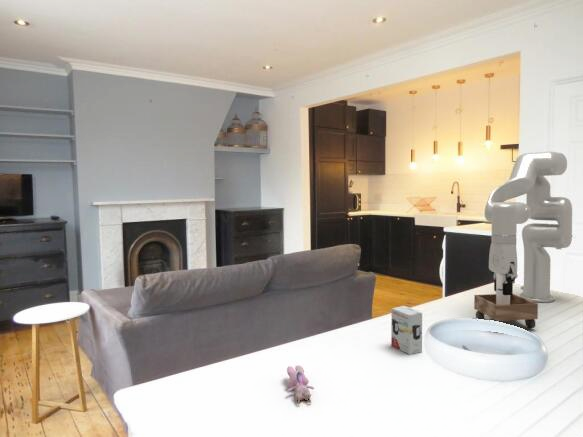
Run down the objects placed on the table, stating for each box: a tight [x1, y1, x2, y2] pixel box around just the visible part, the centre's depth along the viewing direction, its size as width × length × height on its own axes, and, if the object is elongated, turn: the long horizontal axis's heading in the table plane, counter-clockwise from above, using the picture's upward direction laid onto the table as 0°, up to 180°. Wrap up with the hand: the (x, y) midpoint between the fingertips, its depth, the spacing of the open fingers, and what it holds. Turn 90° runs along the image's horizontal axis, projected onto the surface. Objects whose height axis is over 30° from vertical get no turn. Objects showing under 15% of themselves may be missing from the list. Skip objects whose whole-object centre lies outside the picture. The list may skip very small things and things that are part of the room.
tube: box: [495, 272, 510, 305], centre depth 144 cm, size 4×4×15 cm
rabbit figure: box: [286, 365, 315, 405], centre depth 100 cm, size 6×6×15 cm
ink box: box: [390, 305, 423, 355], centre depth 124 cm, size 9×5×12 cm, turn 25°
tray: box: [473, 293, 539, 329], centre depth 143 cm, size 14×14×9 cm
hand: (503, 292), depth 144 cm, fingers closed on tube, 4 cm apart
